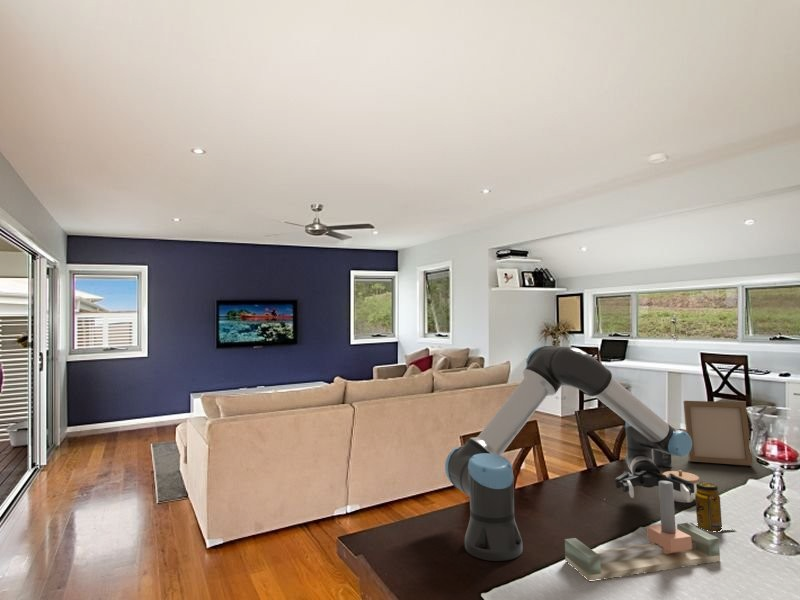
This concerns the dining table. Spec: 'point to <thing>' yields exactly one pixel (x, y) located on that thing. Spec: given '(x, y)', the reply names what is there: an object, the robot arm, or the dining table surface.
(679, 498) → the lidded jar
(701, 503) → the condiment
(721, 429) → the photo frame
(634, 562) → the rail track
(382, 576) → the dining table surface
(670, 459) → the supplement bottle
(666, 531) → the carriage
